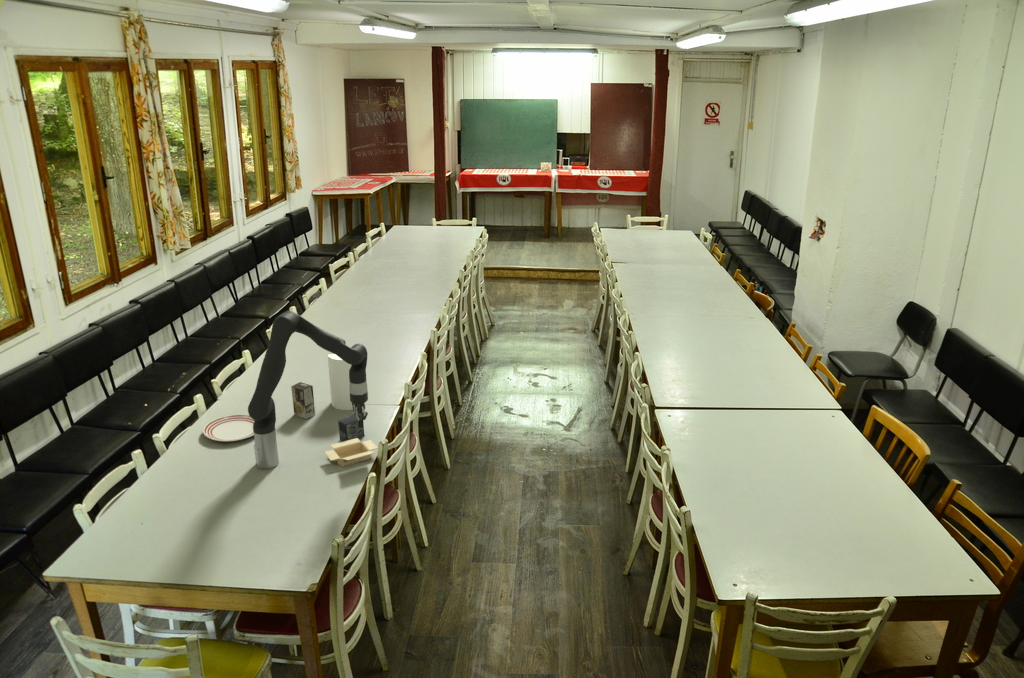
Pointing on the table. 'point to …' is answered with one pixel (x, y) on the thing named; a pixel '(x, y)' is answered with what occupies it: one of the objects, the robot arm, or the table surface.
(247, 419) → the dinner plate
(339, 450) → the carton
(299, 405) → the coffee box
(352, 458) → the front flap
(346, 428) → the small box
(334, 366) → the cylinder
